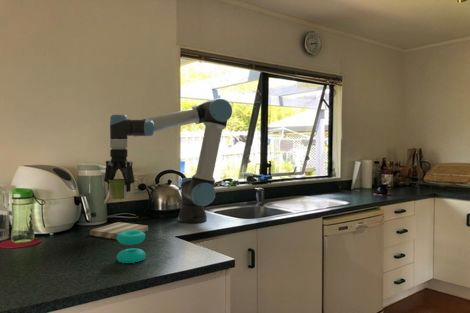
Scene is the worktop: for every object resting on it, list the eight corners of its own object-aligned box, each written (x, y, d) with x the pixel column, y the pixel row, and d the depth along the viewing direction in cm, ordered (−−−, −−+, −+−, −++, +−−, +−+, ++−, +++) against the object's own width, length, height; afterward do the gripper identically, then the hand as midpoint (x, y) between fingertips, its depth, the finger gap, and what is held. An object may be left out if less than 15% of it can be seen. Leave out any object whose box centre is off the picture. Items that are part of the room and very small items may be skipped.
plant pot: (117, 200, 168) (116, 181, 168) (104, 198, 174) (104, 179, 174) (134, 198, 176) (134, 179, 175) (121, 196, 182) (121, 178, 181)
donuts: (129, 237, 129) (110, 233, 135) (130, 266, 130) (110, 261, 135) (151, 231, 137) (132, 228, 143) (151, 259, 138) (132, 254, 143)
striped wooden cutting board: (148, 232, 180) (147, 225, 180) (121, 241, 164) (121, 234, 164) (118, 228, 188) (118, 222, 188) (90, 236, 172) (90, 229, 171)
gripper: (142, 148, 173) (142, 198, 174) (107, 148, 182) (107, 195, 183) (131, 149, 166) (132, 200, 167) (95, 148, 175) (95, 197, 176)
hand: (119, 198), depth 175 cm, fingers closed on plant pot, 8 cm apart
